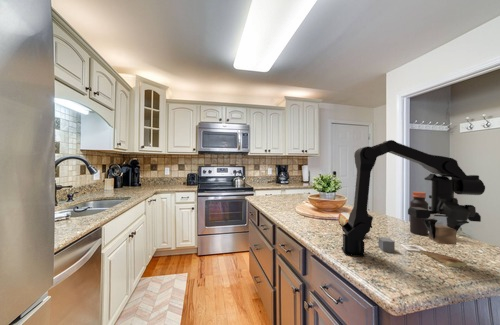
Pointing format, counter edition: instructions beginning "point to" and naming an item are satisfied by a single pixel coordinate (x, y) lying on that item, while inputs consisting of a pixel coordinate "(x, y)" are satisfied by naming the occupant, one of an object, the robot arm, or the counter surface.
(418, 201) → the bottle
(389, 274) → the counter surface
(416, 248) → the plan card
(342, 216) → the snack package
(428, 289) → the counter surface
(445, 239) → the walnut block
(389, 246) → the gray cube
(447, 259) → the shard
